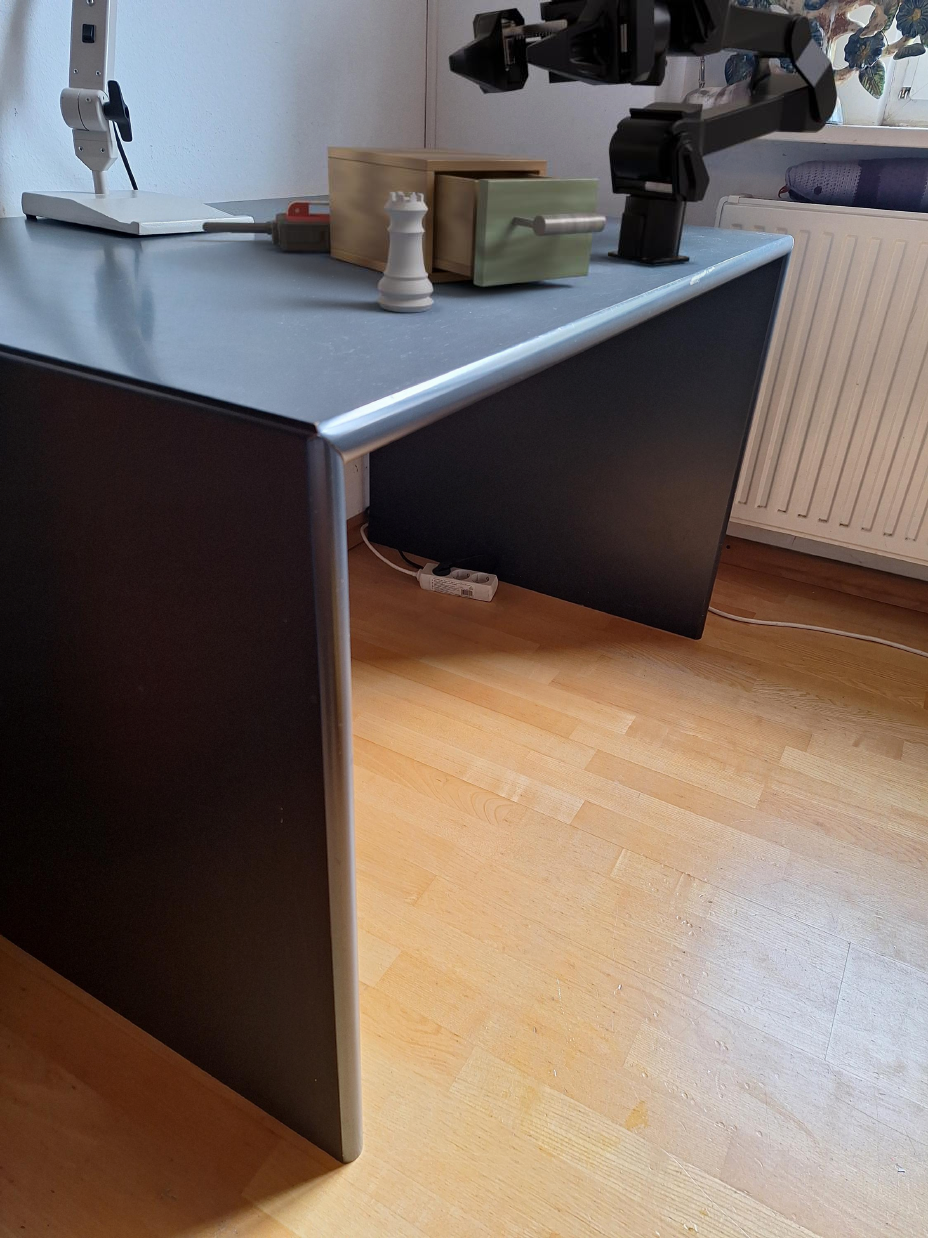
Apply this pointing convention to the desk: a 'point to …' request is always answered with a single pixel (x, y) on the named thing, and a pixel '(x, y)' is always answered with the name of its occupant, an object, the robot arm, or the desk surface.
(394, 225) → the rook chess piece
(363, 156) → the cabinet
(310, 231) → the walkie-talkie
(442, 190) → the drawer
